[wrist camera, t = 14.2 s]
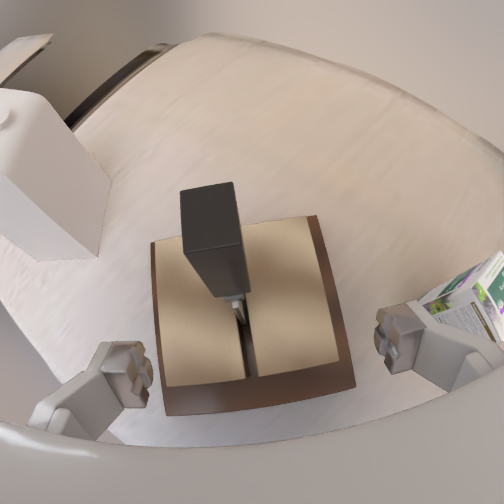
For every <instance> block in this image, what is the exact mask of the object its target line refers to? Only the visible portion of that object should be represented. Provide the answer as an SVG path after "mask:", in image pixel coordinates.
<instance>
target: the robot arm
mask: <svg viewBox="0 0 504 504" xmlns="http://www.w3.org/2000/svg"><path fill="white" fill-rule="evenodd" d="M376 320H377V321H378V322H379V324H378V326H377V327H376V328H375V332H374V342H375V346H376V349H377V351H378V353H379V354H380V355H382V356H384V357H385V360H384V363H385V365H386V366H387V368H388V370H389V372H390V373H391V375H393V374H397V373H400V372H404V371H407V370H411V369H412V370H413V371H415V372H416V373H418V374H419V375H421V376H423V377H424V378H426V379H427V380H429V381H431V382H432V383H434V384H435V385H437V386H439V387H440V388H442V389H444V390H445V391H447V392H448V393H447V394H445V395H443V396H440V397H438V398H435V399H433V400H431V401H428V402H426V403H423V404H420V405H418V406H415V407H412V408H410V409H407V410H404V411H401V412H398V413H395V414H392V415H389V416H386V417H383V418H380V419H377V420H373V421H370V422H366V423H363V424H359V425H355V426H352V427H348V428H344V429H340V430H335V431H331V432H327V433H322V434H317V435H312V436H307V437H301V438H295V439H289V440H283V441H276V442H268V443H260V444H250V445H239V446H225V447H200V448H172V447H148V446H134V445H123V444H114V443H105V442H98V441H96V440H97V438H98V437H99V436H100V435H101V434H102V433H103V432H104V431H105V430H106V429H107V428H108V427H109V426H110V424H111V423H112V422H113V421H114V420H115V419H116V418H117V417H118V416H119V415H120V414H121V412H122V411H123V410H124V408H146V406H147V402H148V398H149V392H148V390H147V389H148V388H149V387H150V386H151V385H152V381H153V369H152V365H151V362H150V360H149V359H148V358H147V357H145V356H144V353H145V348H144V346H143V344H142V342H140V341H115V342H102V343H100V345H99V347H98V348H97V350H96V352H95V354H94V356H93V358H92V360H91V362H90V364H89V366H88V368H87V370H86V371H82V372H81V373H79V374H78V375H76V376H75V377H74V378H72V379H71V380H69V381H68V382H67V383H65V384H64V385H62V386H61V387H60V388H58V389H57V390H55V391H54V392H53V393H51V394H50V395H48V396H47V397H46V398H44V399H43V400H41V401H40V402H39V403H38V404H37V406H36V408H35V410H34V412H33V413H32V415H31V417H30V420H29V421H28V424H27V426H23V425H20V424H16V423H13V422H10V421H7V420H4V419H1V418H0V504H504V351H503V350H502V349H501V348H500V347H499V346H498V345H497V344H496V343H495V342H494V341H492V340H489V339H486V338H483V337H481V336H478V335H475V334H472V333H469V332H467V331H464V330H461V329H458V328H456V327H453V326H450V325H447V324H445V323H440V324H439V323H438V322H437V321H436V320H435V319H434V317H433V316H432V315H431V314H430V313H429V312H428V311H427V310H426V309H425V308H424V307H423V306H422V305H421V304H420V303H419V301H417V300H413V301H409V302H405V303H403V304H399V305H395V306H391V307H386V308H382V309H379V310H378V312H377V317H376Z"/></svg>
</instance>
